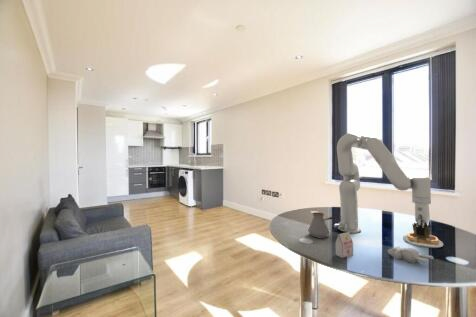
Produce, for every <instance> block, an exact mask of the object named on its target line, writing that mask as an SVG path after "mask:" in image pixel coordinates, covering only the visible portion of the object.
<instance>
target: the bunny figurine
mask: <svg viewBox="0 0 476 317" xmlns="http://www.w3.org/2000/svg"><path fill="white" fill-rule="evenodd" d="M387 254H390V256H391V257H392V258H395V259H399V260H403V261H404V262H406V263H410V264H414V263H416V262H417V263H418V262H419V263H423V264H427V263H428V260H435V259H434V256H433V255H429V254H420V253H419V251H418V249H416V248H412V247H400V246H396V247H393V248H390V249H387Z"/></svg>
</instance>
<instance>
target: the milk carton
mask: <svg viewBox="0 0 476 317" xmlns="http://www.w3.org/2000/svg"><path fill="white" fill-rule="evenodd" d="M335 255H336V256H338V257H340V258H342V259H344V258H347V257H351V256H354V241H353V239H352V235H351V233H350V232H343V233H338V234H337V238H336V239H335Z"/></svg>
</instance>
